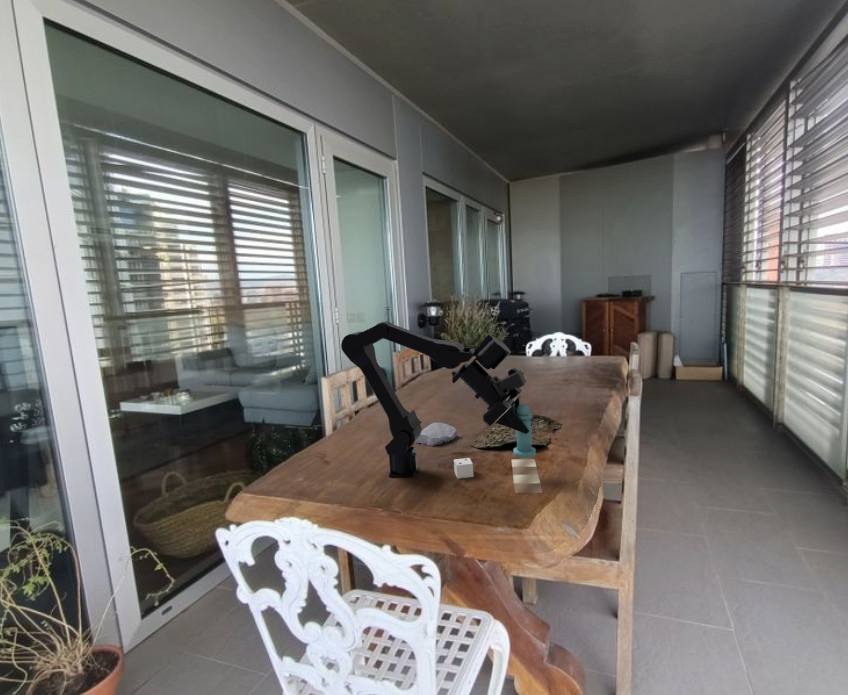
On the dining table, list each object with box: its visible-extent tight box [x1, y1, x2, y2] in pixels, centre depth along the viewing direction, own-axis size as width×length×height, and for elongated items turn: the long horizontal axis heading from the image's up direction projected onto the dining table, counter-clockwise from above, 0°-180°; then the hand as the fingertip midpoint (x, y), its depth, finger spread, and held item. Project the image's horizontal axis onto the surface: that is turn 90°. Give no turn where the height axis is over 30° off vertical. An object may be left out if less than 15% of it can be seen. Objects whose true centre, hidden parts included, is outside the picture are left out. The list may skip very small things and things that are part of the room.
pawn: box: [512, 403, 537, 459], centre depth 110 cm, size 5×5×12 cm
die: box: [453, 457, 474, 479], centre depth 116 cm, size 4×4×4 cm
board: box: [511, 458, 543, 494], centre depth 113 cm, size 6×20×1 cm, turn 172°
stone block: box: [415, 422, 458, 447], centre depth 145 cm, size 12×5×10 cm
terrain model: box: [473, 414, 563, 449], centre depth 145 cm, size 31×25×5 cm
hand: (529, 429), depth 110 cm, fingers closed on pawn, 4 cm apart
